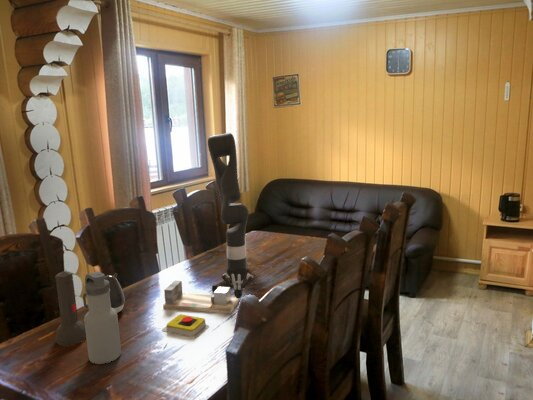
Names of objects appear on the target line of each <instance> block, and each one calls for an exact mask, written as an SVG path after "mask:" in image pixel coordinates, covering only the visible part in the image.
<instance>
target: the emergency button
mask: <svg viewBox="0 0 533 400" xmlns="http://www.w3.org/2000/svg"><path fill="white" fill-rule="evenodd" d="M208 328H210V325H209V324H206V319H205V318H204V317H199V316H193V315H189V314H188V315H186V314H181V313H180V314H178V315H176V316H175V317H174V318H173V319H172V320H170V321H169V322H167V323H166V326H165V327H163V328H162V329H161V331H162V332H164V333H170V334H175V335H180V336H184V337H190V338H198V337H200V336H201V335H202V334H203V333H205V332H206V331H207V330H208Z"/></svg>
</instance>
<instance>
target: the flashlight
mask: <svg viewBox="0 0 533 400" xmlns="http://www.w3.org/2000/svg"><path fill="white" fill-rule="evenodd" d="M54 278H55V284H56V292H57V299H58V307H59V308H58V309H59V317H60V325H58V326H57V329H56V331H55V336H54V338H55V339H54V340H55V341H56V344H59V345H58V346H61V345H63V346H62V347H70V346H69V345H71V346H75V345H77V343H78V344H80V343H82V342H84V341H85V340H86V339H85V338H86V331H85V323H84V322H83V321H81V320H79V316H78V309H77V300H76V291H75V285H74V277H73V273H72V272H71V271H66V270H65V271H61V272H59V273H57V274H56V275H55V276H54ZM84 339H85V340H84ZM83 340H84V341H83ZM81 341H82V342H81ZM79 342H80V343H79ZM74 344H75V345H74Z"/></svg>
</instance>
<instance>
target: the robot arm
mask: <svg viewBox="0 0 533 400" xmlns="http://www.w3.org/2000/svg"><path fill="white" fill-rule="evenodd" d="M236 145H237V144H236V141H235V138H234V135H233V133H231V132H227V133H226V132H225V133H220V134H215V135H210V136H209V137H208V138H207V148H208V151H209V156H210V158H211V162H212V166H213V170H214V176H215V177H214V178H215V183H216V187H217V190H218V196H219V200H220V208H221V211H220V220H221V222H222V223H223V224H224V225H234V224H235V226H233V227H230V228H228V229H227V230H226V232H225V234H226V264H227V265H226V266H227V270H226V272H225V273H223V274H222V275H221V278H222V281H225V282H226V283H227V285H228V286H229V287H230V288H232V289H233V291H234V294H233V295H234V297H236V298H239V299H241V298H242V296H243V290H244V289H246V287H247V286H248V285H249V283H250V282H251V281H252V280H253V278H254V275H253V274H250V273H249V270H248V267H247V266H248V264H247V245H246V243H247V242H246V240H247V239H246V227H247V223H248V221H249V208H248V207H247V206H246V205H244V203H239V202H238V201H240V199H241V190H240V185H239V177H238V157H237V147H236ZM223 157H229V158H228V163H227V164H226V163H225V162H224V161H223V160H222V159H221V158H223ZM237 202H238V203H237ZM229 277H230V278H231V279H232V281H231V279H230V278H229ZM245 278H246V280H245ZM244 280H245V282H244ZM243 282H244V283H243Z"/></svg>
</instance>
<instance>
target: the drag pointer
mask: <svg viewBox="0 0 533 400" xmlns="http://www.w3.org/2000/svg"><path fill="white" fill-rule="evenodd" d="M211 295H212V296H211V305H210V306H209V308H210V307H211V306H212V305H213V304H214V293H213V294H211Z"/></svg>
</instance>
